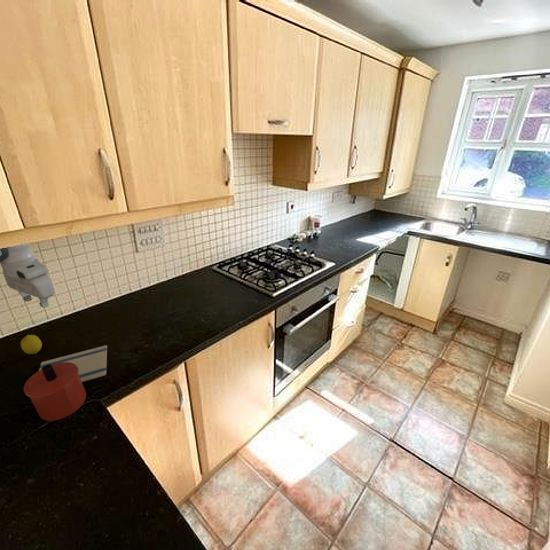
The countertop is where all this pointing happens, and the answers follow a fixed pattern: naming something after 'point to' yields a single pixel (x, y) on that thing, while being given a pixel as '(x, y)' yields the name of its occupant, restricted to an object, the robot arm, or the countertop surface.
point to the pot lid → (50, 379)
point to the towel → (85, 362)
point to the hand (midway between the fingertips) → (36, 303)
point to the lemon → (31, 344)
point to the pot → (61, 402)
